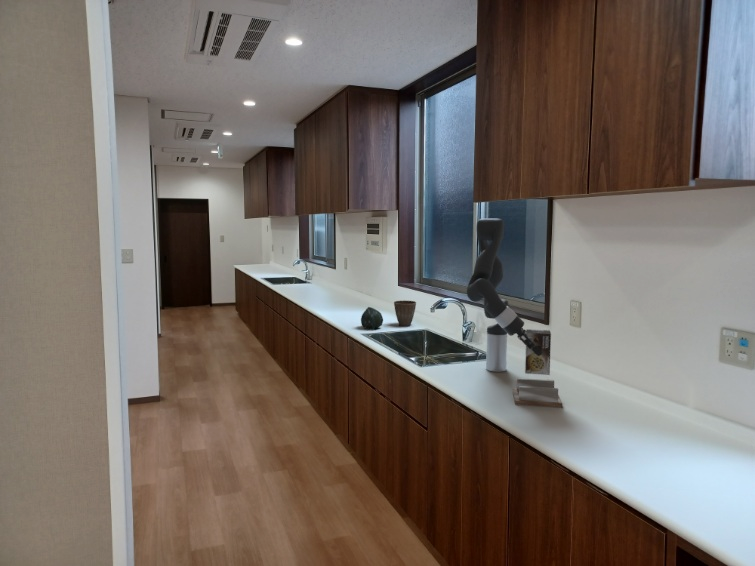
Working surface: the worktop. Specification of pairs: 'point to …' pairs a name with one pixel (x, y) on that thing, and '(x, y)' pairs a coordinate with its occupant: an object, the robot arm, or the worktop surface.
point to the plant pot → (404, 312)
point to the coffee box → (541, 362)
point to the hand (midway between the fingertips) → (539, 352)
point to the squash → (371, 318)
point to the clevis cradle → (536, 393)
